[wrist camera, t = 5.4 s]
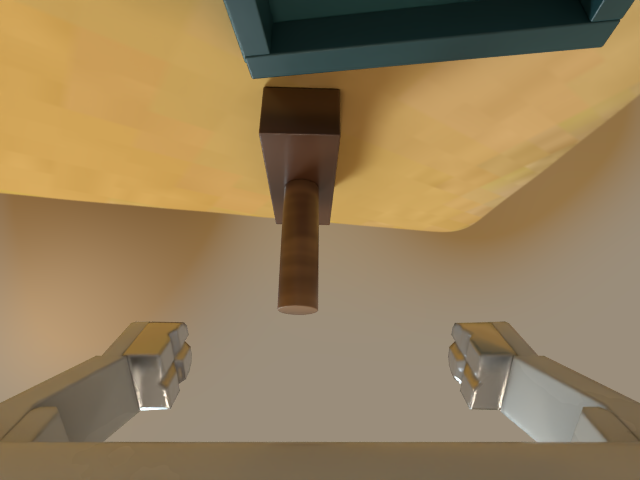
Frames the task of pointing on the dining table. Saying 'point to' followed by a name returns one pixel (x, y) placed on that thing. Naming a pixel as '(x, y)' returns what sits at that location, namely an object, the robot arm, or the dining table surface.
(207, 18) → the dining table surface
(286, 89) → the mallet
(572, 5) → the stand
